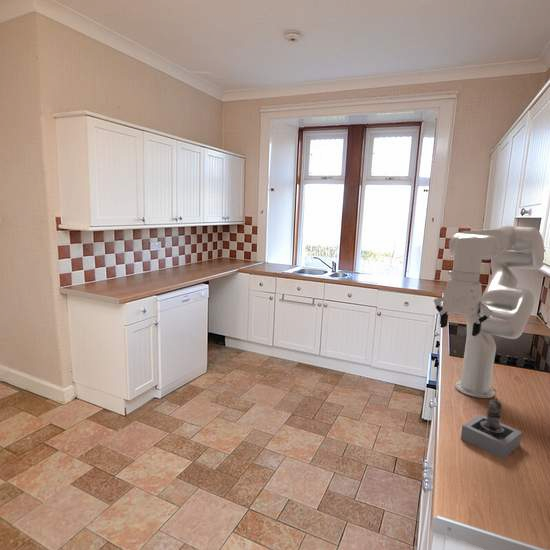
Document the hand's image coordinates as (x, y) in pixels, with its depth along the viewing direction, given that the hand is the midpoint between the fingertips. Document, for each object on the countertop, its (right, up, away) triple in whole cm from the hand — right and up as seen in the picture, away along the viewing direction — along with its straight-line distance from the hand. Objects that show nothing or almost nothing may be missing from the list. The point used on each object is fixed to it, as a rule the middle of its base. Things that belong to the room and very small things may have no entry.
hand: (458, 330), depth 118 cm
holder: (+2, -29, -13) cm, 32 cm away
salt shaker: (+2, -28, -13) cm, 31 cm away
